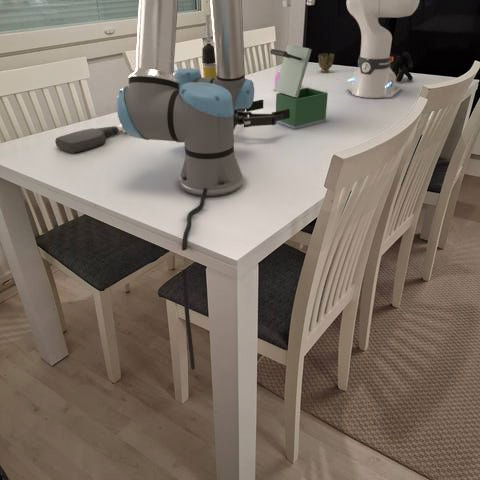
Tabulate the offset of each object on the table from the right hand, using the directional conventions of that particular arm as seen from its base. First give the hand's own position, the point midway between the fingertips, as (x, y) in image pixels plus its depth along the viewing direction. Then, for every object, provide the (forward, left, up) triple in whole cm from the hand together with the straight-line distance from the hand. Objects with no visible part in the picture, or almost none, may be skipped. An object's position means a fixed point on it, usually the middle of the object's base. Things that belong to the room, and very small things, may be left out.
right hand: (298, 6), depth 132 cm
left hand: (+8, -1, -29) cm, 30 cm away
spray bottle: (+52, -36, -35) cm, 73 cm away
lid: (+1, 0, -18) cm, 18 cm away
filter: (-5, -44, -35) cm, 57 cm away
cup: (-75, -37, -35) cm, 90 cm away
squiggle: (-81, -1, -35) cm, 88 cm away
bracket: (-38, -31, -35) cm, 60 cm away
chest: (-3, +1, -35) cm, 35 cm away
